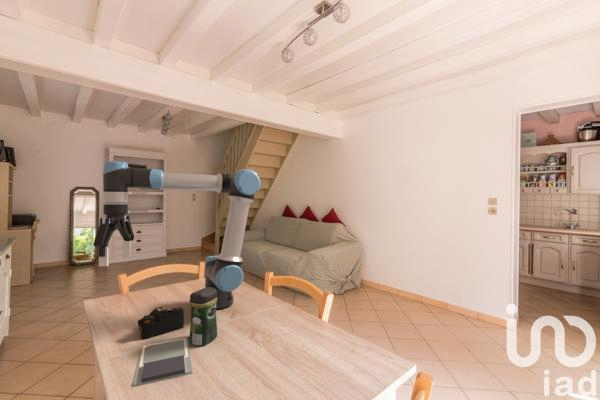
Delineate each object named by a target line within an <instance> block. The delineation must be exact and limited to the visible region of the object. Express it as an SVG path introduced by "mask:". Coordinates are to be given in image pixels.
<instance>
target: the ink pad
mask: <svg viewBox="0 0 600 400" xmlns="http://www.w3.org/2000/svg"><path fill="white" fill-rule="evenodd" d="M184 373H187V371H186V361H185V358H184V355H182V356H177V357H172V358H167V359H162V360H158V361H153V362H148V363H144V366H143V367H142V372H141V378H140V383H145V382H149V381H153V380H158V379H162V378H166V377H171V376H175V375H179V374H184Z"/></svg>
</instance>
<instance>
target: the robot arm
mask: <svg viewBox="0 0 600 400" xmlns="http://www.w3.org/2000/svg"><path fill="white" fill-rule="evenodd" d="M102 178H103V179H102V181H103V183H102V185H103V186H102V187H103V203H104V205H103V207H102V208H103V209H102V210H103V215H106V217H101V218H99V226H98V229H97V232H96V235H95V239H94V241H93V247H95V248H98V267H109V246H108V245H109V242H110V240H111V238H112V236H113V234H114V232H116V230H117V231H118V233H119V235H121V237H122V239H123V240H122V250H121V251H122V254H121V255H122V259H130V258H131V253H132V252H131V245H132V244H131V243H132V241H134V240H135V233H134V231H133V230H134V229H133V227H132V223H131V216H130V215H128V213H129V205H128V204H127V203H129V192H128V191H129V190H128V189H139V190H143V191H148V190H153V191H154V190H160V191H161V190H164V191H165V190H166V191H197V192H198V191H200V192H202V191H206V192H210V191H211V192H217V193H218V194H227V195H228V199H229V200H230V205H229V210H228V214H227V219H226V224H225V229H224V234H223V235H224V236H223V241H222V244H221V252H220V253H219V254H217V255H210V256H206V258H205V262H204V265H205V266H204V267H205V271H204V272H205V273H204V274H205V275H204V277H205V278H204V280H205V282H204V288H206V287H212V288H215V289H216V291H217V303H216V310H217V309H223V308H226V307H229V306H231V305H233V304H234V300H235V299H234V294H233V291H235V290H237V289H238V288H239V287H240V286H241V285H242V284H243V281H244V278H245V277H244V275H245V274H244V271H243V269H242V268H243V262H244V260H243V258H242V257H241V253H242V249H243V242H244V238H245V232H246V227H247V222H248V216H249V211H250V206H251V204H252V203H253V202H254V201H255V197H256V194H257V193H258V192H259V190H260V188H261V178H260V176H259V175H258V173H256V171H254V170H252V169H249V168H248V169H247V168H243V169H240V170H237V171H233V172H229V173H227V172H226V173H218V174H216V175H215V174H213V175H212V174H198V173H197V174H196V173H194V174H193V173H178V172H177V173H176V172H175V173H173V172H172V173H171V172H164V171H163V170H162V169H157V168H136V167H135V168H133V167H129V164H128V162H126V161H117V160H108V161H105V162H104V163H103V173H102Z"/></svg>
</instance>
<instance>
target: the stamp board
mask: <svg viewBox="0 0 600 400" xmlns="http://www.w3.org/2000/svg"><path fill="white" fill-rule="evenodd" d="M189 343H190V342H189V338H188V337H183V338H178V339H177V338H176V339H172V340H171V339H170V340H167V341H160V342H159V341H158V342H155V343H150V344H145V345H142V349H141V354H139V355H138V356H137V357H138V358H137V362H136V368H135V373H134V378H133V382H132V387H136V386H137V387H138V386H141V385H146V384H150V383H155V382H160V381H164V380H168V379H173V378H178V377H182V376H187V375H191V374H193V365H192V360H191V359H192V357H191V351H190V344H189ZM151 346H152V347H151ZM146 347H150V348H149V349H147V350H146ZM182 355H184V358H185V361H186V371H187V373H184V374H179V375H175V376H171V377H166V378H162V379H158V380H153V381H149V382H145V383H140V378H141V372H142V367H143V366H144V363H148V362H153V361H158V360H162V359H167V358H172V357H177V356H182Z"/></svg>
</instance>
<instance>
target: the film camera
mask: <svg viewBox="0 0 600 400" xmlns="http://www.w3.org/2000/svg"><path fill="white" fill-rule="evenodd" d="M184 311H185V309H184V308H182V307H181V306H179V307H172V308H171V307H170V308H167V309H166V308H164V307H163V306H159V307H156V308H154V309H153V310H152V311H150V313H149V314H145V315H143V317H142V318H140V319H138V320H137V326H138V332H140V339H141V340H142V341H144V340H148V339H153V338H155V337H159V336H162V335H166V334H169V333H172V332H174V331H175V332H176V331H178V330H181V329H183V328H184V326H185V314H184Z"/></svg>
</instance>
